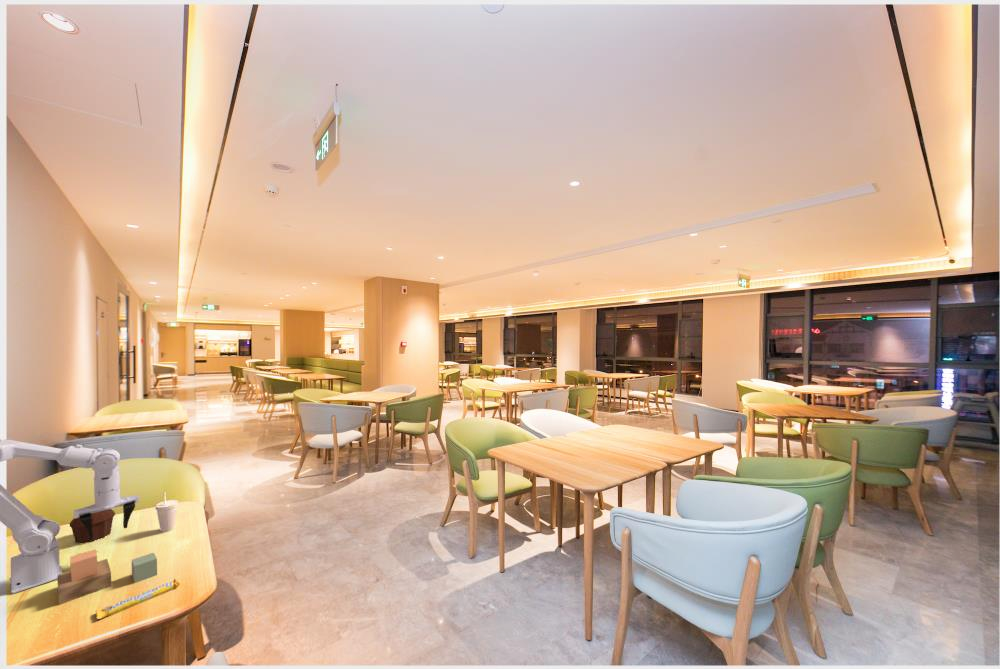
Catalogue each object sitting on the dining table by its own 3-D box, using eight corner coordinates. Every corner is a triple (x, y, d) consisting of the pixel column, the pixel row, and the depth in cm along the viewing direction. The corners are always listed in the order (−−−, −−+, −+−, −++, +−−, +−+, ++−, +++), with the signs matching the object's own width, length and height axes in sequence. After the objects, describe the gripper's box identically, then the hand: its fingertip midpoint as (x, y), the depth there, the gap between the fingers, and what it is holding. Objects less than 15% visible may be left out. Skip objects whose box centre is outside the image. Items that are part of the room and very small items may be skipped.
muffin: (81, 532, 143) (80, 505, 142) (121, 525, 147) (120, 499, 147) (62, 549, 132) (61, 519, 132) (106, 541, 137) (105, 512, 136)
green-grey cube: (134, 583, 114) (134, 566, 114) (131, 576, 117) (131, 559, 117) (157, 575, 118) (156, 558, 118) (154, 568, 121) (153, 552, 121)
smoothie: (155, 529, 144) (154, 491, 144) (177, 523, 149) (176, 486, 148) (156, 536, 140) (155, 497, 139) (179, 529, 144) (178, 491, 144)
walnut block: (59, 604, 105) (58, 590, 105) (57, 588, 112) (57, 574, 112) (111, 585, 113) (110, 572, 113) (107, 571, 120) (107, 558, 119)
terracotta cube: (71, 581, 109) (71, 563, 109) (70, 574, 112) (70, 556, 112) (97, 572, 113) (96, 555, 112) (96, 565, 116) (95, 549, 116)
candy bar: (177, 582, 115) (176, 576, 115) (180, 588, 112) (180, 582, 112) (94, 616, 102) (94, 609, 102) (96, 623, 99) (96, 616, 99)
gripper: (74, 500, 116) (75, 546, 117) (140, 485, 127) (141, 527, 128) (72, 494, 121) (74, 538, 121) (136, 479, 132) (138, 520, 132)
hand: (108, 531), depth 125 cm, fingers open, 7 cm apart
